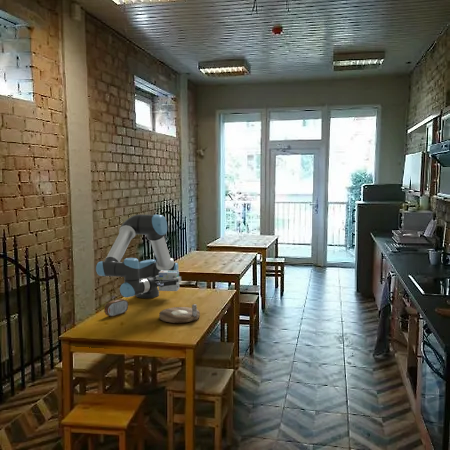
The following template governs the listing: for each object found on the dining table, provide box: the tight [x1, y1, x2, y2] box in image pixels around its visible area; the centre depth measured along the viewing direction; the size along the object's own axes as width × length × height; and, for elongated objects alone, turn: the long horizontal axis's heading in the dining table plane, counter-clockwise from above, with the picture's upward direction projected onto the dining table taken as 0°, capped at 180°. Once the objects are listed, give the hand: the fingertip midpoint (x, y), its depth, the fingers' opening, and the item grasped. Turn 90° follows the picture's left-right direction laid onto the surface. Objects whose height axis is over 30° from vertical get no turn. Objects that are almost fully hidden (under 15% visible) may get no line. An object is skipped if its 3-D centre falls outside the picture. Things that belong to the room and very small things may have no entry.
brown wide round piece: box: [158, 303, 201, 324], centre depth 249 cm, size 22×22×8 cm
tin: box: [104, 298, 129, 318], centre depth 256 cm, size 15×3×8 cm, turn 141°
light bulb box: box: [158, 270, 180, 292], centre depth 258 cm, size 11×7×11 cm, turn 84°
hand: (172, 277), depth 260 cm, fingers closed on light bulb box, 12 cm apart
